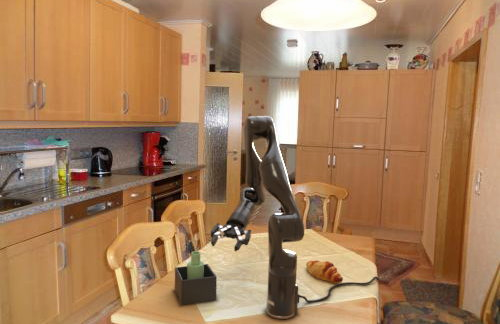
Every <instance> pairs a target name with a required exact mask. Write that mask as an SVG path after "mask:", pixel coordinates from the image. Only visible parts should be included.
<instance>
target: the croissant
mask: <svg viewBox="0 0 500 324" xmlns="http://www.w3.org/2000/svg"><path fill="white" fill-rule="evenodd" d="M305 265H306V269H307V271H308V272H309V273H310V275H311V276H312V277H315V278H316V279H319V280H323V281H327V282H330V283H335V284H339V283H342V282H343V280H344V278H343V276H341V273H339V271H338V268H337V267H335V265H334V263H333V262H331V261H329V260H308V261H306V264H305Z"/></svg>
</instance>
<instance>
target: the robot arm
mask: <svg viewBox="0 0 500 324" xmlns="http://www.w3.org/2000/svg"><path fill="white" fill-rule="evenodd" d="M243 127H244V128H243V130H244V131H243V132H244V133H243V134H244V135H243V136H244V152H245V180H244V181H245V185H246V186H245V187H244V188H242V189H241V191H240V193H239V194H240V195H239V201H238V204H237V206H236V207H235V209H234V210H232V213H231V214H230V216H229V217H228V219H227V221H226V222H225V224H223V225H221V224H220V223H219V222H216V223H215V225H214V226H213V228H212V229H211V230H210V238H211V240H210V245H211V246H212V247H215V246H216V244H217V242H218V240H220V239H225V238H228V239H233V240H236V243H235V244H234V249H233V250H234V252H238V251H239V250H240V249H241V247H242V246H243V245H244V246H248V245H249V242H250V241H251V238H252V229H247V227H248V226H249V224H250V222H251V219H252V217H253V215H254V213H255V211H256V208H260V207H262V206H263V205H264V204H265V201H266V193H265V190H266V192H267V193H269V195H270V196H271V197H273V198H274V199H275V201H277V202H278V203H279V205H280V206H281V208H282V210H283V213H273V214H271V215H270V216H269V218H268V224H267V237H268V238H267V246H268V247H267V251H268V265H267V270H268V271H267V293H266V297H267V298H266V309H265V310H266V311H265V312H266V314H267V315H268V316H269V317H271V318H274V319H277V320H289V319H291V318H293V317H294V316H295V315H298V305H299V304H300V298H301V299H303V300H304V301H305V302H306V303H309V304H311V303H319V302H323V301H325V300H327V299H329V298H330V297H331V292H332V290H333V289H335V288H337V287H339V286H340V287H341V286H346V285H358V286H360V285H361V286H365V285H370V284H371V283H372V282H374V281H375V280H380V278H379V277H378V276H374V277H373V278H371V279H370V280H369V281H366V282H356V281H355V282H353V281H352V282H351V281H350V282H349V281H348V282H339V283H336V284H334V285H332V286H331V287H329V289H328V291H327V292H328V293H327V295H326V296H324V297H321V298H319V299H313V300H309V299H307V297H306V296H304V295H301V294H300V293H299V286H298V285H297V272H298V270H297V269H298V255H297V253H296V252H294V251H293V250H291V249H286V248H284V247H283V244H285V243H295V242H296V243H297V242H301V241H302V240H303V239H304V236H305V224H304V221H303V217H302V215H301V212H300V209H299V207H298V205H297V202H296V200H295V197H294V195H293V190H292V188H291V185H290V180H289V176H288V173H287V169H286V166H285V163H284V160H283V157H282V153H281V150H280V147H279V141H278V136H277V131H276V127H275V123H274V120H273V118H272V117H271V116H270V115H250V116H247V117H246V118H245V120H244V126H243ZM254 141H266V145H267V146H266V149H265V151H264V154H263V156H262V158H261V159H260V157H259V155H258V153H257V152H256V149H255V146H254ZM242 236H245V237H244V238H243V237H242Z"/></svg>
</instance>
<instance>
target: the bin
mask: <svg viewBox="0 0 500 324" xmlns="http://www.w3.org/2000/svg"><path fill="white" fill-rule="evenodd" d="M217 282H218V276H217V275H216V273H215V272H214V271H213V269H212V268H211V266H210V265H209V264H208V263H204V278H196V279H188V280H187V265H185V266H177V267H174V292H175V294H176V296H177V299H178V301H179V303H180V306H187V305H192V304H193V305H194V304H200V303H208V302H214V301H217V284H218V283H217Z"/></svg>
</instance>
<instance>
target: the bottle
mask: <svg viewBox="0 0 500 324" xmlns="http://www.w3.org/2000/svg"><path fill="white" fill-rule="evenodd" d="M204 264H205V263H204V261H201V252H200V251H199V250H195V251H191V252H190V261H189V262H187V263H186V266H187V280H188V279H196V278H204Z"/></svg>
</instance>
